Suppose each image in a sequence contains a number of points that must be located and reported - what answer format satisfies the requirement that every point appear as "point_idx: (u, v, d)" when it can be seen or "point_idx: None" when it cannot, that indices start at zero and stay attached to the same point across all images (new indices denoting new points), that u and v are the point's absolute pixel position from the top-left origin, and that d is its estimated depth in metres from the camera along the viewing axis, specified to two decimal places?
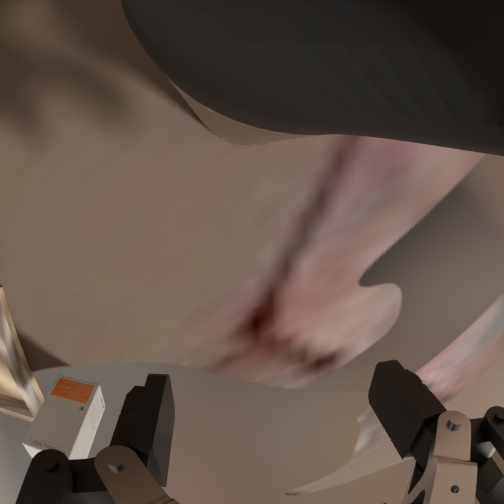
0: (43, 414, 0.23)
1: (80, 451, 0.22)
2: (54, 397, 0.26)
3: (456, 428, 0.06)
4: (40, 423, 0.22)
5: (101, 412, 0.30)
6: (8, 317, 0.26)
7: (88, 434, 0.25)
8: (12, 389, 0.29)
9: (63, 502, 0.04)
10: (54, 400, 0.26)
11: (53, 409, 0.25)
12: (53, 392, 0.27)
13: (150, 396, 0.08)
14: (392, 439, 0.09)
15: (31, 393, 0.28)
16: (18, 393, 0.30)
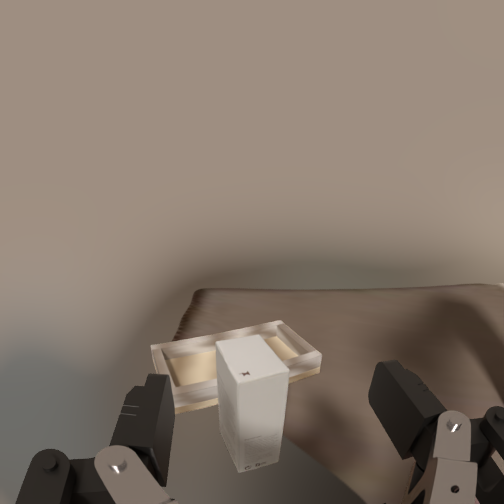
0: None
1: (267, 400, 0.21)
2: None
3: (456, 428, 0.06)
4: None
5: (245, 462, 0.22)
6: (296, 377, 0.37)
7: (262, 425, 0.22)
8: (192, 376, 0.36)
9: (63, 502, 0.04)
10: None
11: None
12: None
13: (150, 396, 0.08)
14: (392, 439, 0.09)
15: (216, 391, 0.32)
16: (190, 381, 0.35)
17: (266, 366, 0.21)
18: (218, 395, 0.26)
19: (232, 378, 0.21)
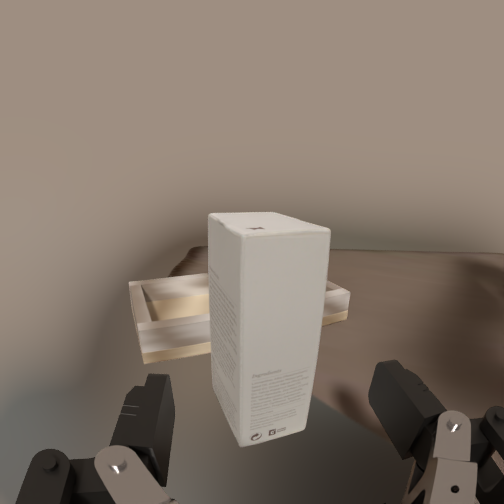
0: None
1: (295, 287, 0.13)
2: None
3: (456, 428, 0.06)
4: None
5: (252, 426, 0.14)
6: None
7: (283, 346, 0.13)
8: (178, 318, 0.28)
9: (63, 502, 0.04)
10: None
11: None
12: None
13: (150, 396, 0.08)
14: (392, 439, 0.09)
15: (209, 330, 0.24)
16: None
17: (291, 225, 0.13)
18: (210, 314, 0.18)
19: (233, 237, 0.12)
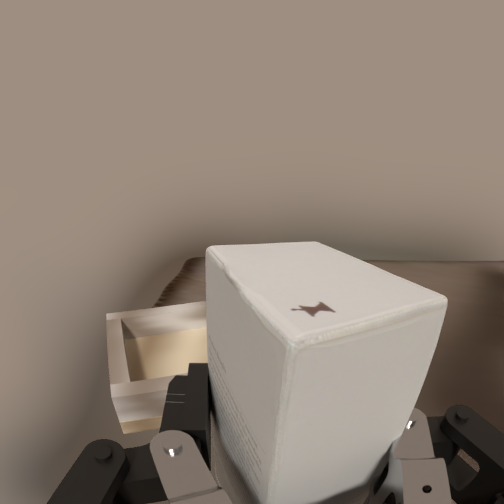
0: None
1: (377, 411, 0.06)
2: None
3: (410, 425, 0.07)
4: None
5: None
6: None
7: (337, 485, 0.06)
8: (168, 365, 0.20)
9: (109, 493, 0.05)
10: None
11: None
12: None
13: (195, 383, 0.09)
14: None
15: None
16: (164, 375, 0.19)
17: (377, 289, 0.06)
18: (211, 400, 0.10)
19: (261, 330, 0.05)
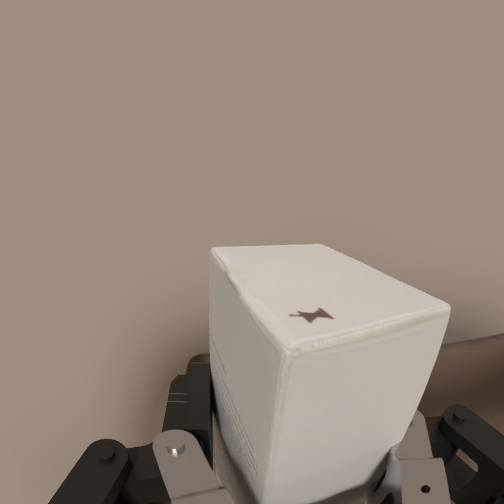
0: None
1: (375, 418, 0.05)
2: None
3: None
4: None
5: None
6: None
7: (334, 490, 0.06)
8: None
9: (111, 493, 0.05)
10: None
11: None
12: None
13: (197, 383, 0.09)
14: None
15: None
16: None
17: (379, 295, 0.06)
18: (213, 400, 0.11)
19: (258, 335, 0.05)
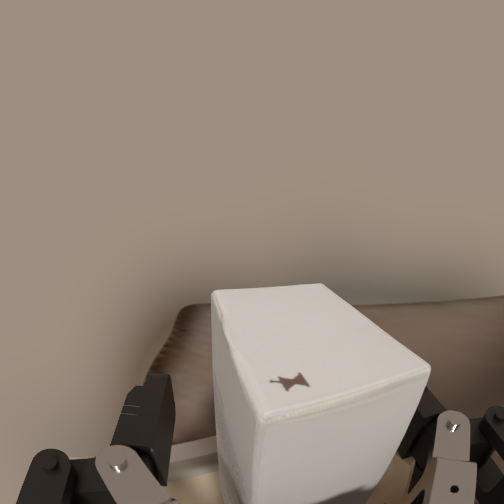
0: None
1: (351, 462, 0.06)
2: None
3: (455, 428, 0.06)
4: None
5: None
6: None
7: None
8: None
9: (64, 502, 0.04)
10: None
11: None
12: None
13: (151, 396, 0.08)
14: None
15: None
16: None
17: (360, 356, 0.06)
18: (216, 424, 0.11)
19: (242, 396, 0.05)
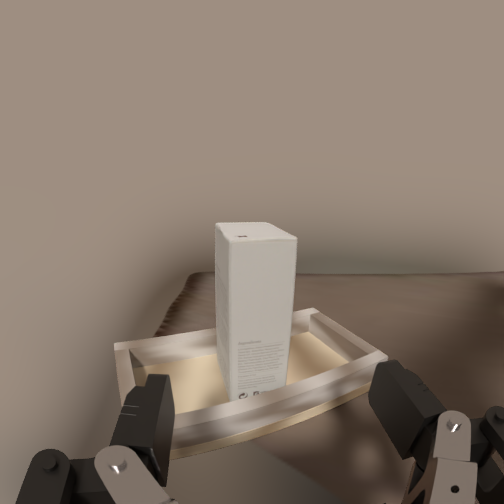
0: None
1: (269, 278, 0.18)
2: None
3: (456, 428, 0.06)
4: None
5: (239, 386, 0.19)
6: (351, 395, 0.21)
7: (261, 322, 0.19)
8: (177, 396, 0.20)
9: (63, 502, 0.04)
10: None
11: None
12: None
13: (150, 396, 0.08)
14: (392, 439, 0.09)
15: (219, 428, 0.16)
16: None
17: (269, 234, 0.19)
18: (216, 299, 0.23)
19: (225, 242, 0.18)
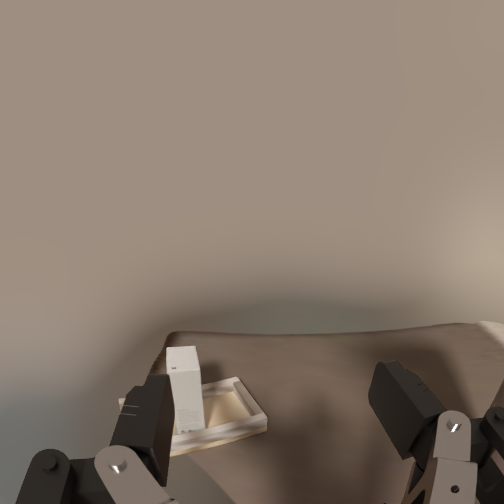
0: None
1: (188, 386, 0.35)
2: None
3: (456, 428, 0.06)
4: None
5: (180, 427, 0.36)
6: (243, 435, 0.38)
7: (187, 402, 0.35)
8: None
9: (63, 502, 0.04)
10: None
11: None
12: None
13: (150, 396, 0.08)
14: (392, 439, 0.09)
15: None
16: None
17: (187, 365, 0.35)
18: None
19: None
